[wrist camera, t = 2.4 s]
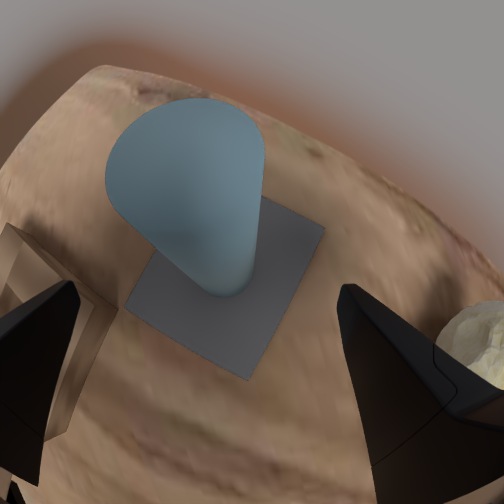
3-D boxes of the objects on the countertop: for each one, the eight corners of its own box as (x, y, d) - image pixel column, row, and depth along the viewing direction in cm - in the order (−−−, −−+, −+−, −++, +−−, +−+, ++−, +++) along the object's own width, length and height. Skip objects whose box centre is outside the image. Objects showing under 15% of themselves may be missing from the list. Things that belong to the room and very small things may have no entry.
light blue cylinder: (236, 308, 18) (207, 266, 5) (184, 279, 18) (78, 191, 6) (264, 256, 19) (292, 127, 6) (213, 230, 19) (166, 86, 7)
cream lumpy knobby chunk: (454, 286, 21) (421, 289, 11) (516, 300, 15) (546, 319, 6) (407, 420, 22) (332, 496, 12) (460, 440, 16) (412, 536, 6)
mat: (247, 379, 17) (248, 380, 17) (126, 307, 18) (124, 307, 18) (323, 229, 20) (325, 227, 19) (207, 173, 21) (206, 171, 21)
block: (65, 431, 15) (43, 442, 12) (-12, 342, 16) (-34, 340, 13) (118, 309, 18) (94, 305, 15) (29, 234, 19) (6, 222, 16)
